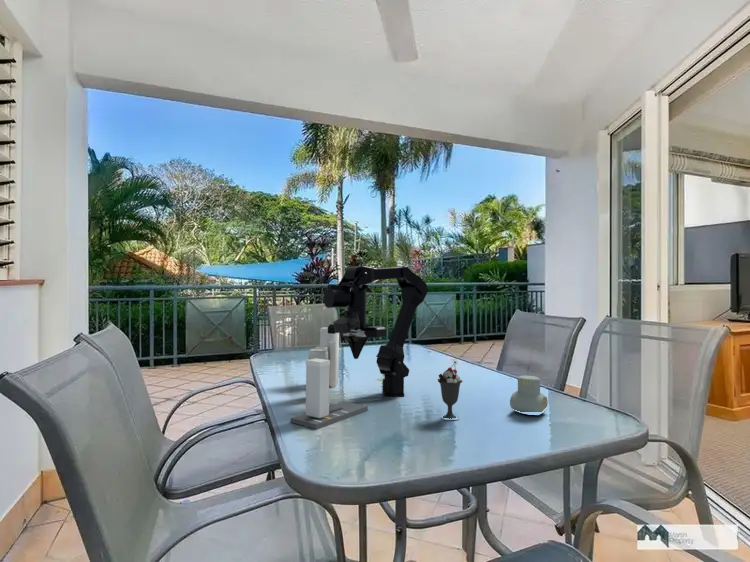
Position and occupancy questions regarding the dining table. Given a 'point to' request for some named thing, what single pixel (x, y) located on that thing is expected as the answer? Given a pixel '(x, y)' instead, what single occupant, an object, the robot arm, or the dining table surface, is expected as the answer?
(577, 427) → the dining table surface
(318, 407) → the fader tab
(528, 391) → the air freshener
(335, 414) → the console
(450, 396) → the sundae
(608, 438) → the dining table surface
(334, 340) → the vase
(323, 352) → the beer can
